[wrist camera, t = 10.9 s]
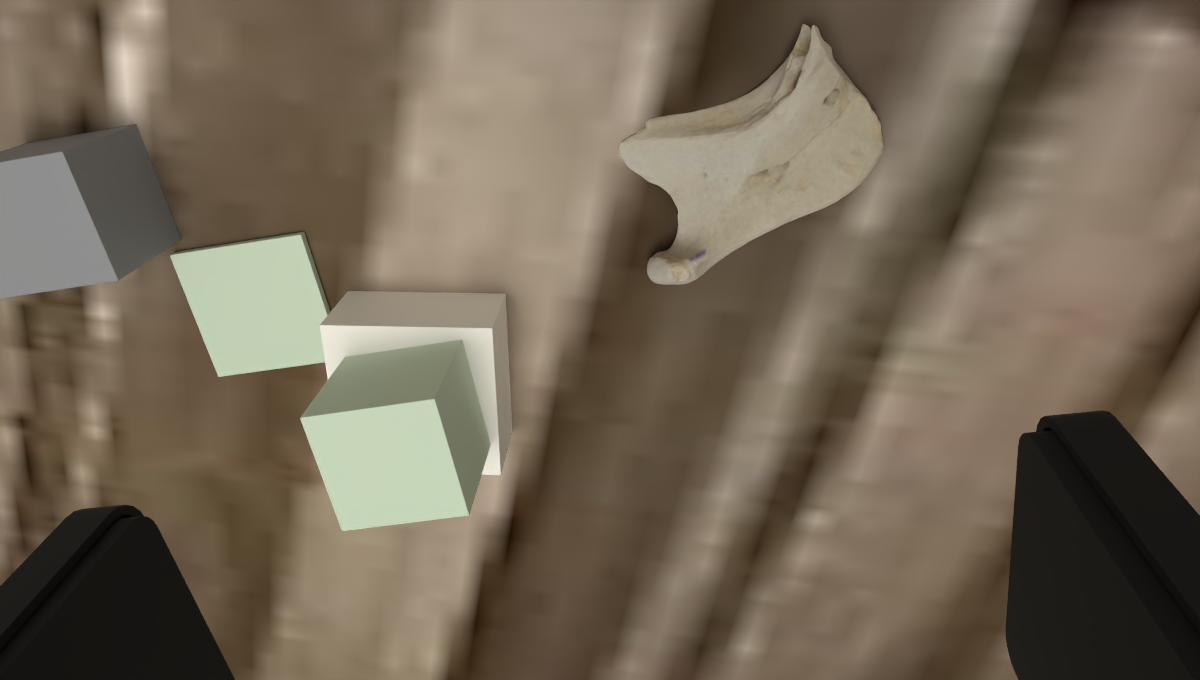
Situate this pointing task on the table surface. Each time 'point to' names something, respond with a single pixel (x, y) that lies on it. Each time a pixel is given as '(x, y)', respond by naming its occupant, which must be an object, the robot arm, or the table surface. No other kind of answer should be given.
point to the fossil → (757, 158)
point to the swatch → (256, 302)
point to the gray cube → (79, 211)
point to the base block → (429, 320)
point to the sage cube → (399, 436)
